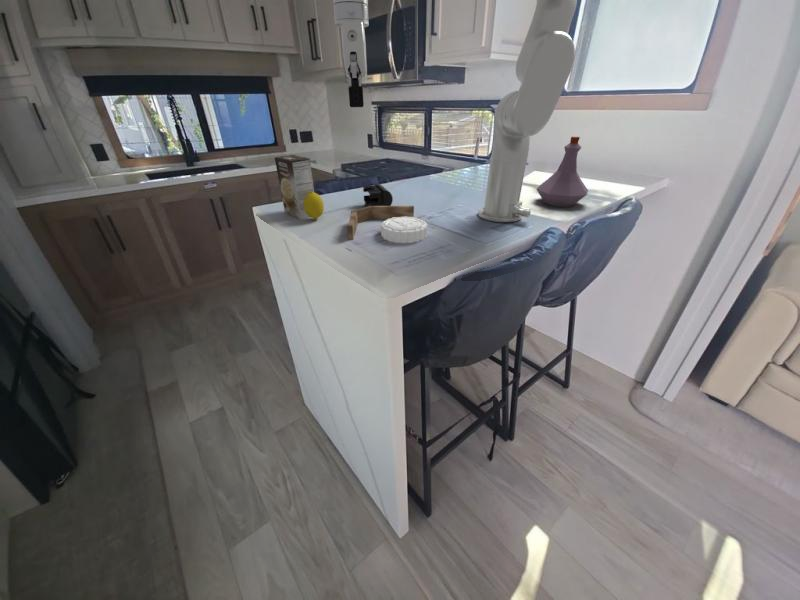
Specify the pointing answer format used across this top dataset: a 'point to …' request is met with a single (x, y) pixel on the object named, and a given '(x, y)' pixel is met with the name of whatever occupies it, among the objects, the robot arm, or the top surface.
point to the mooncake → (404, 229)
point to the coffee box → (294, 183)
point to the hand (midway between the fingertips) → (357, 106)
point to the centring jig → (376, 215)
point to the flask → (564, 180)
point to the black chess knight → (377, 196)
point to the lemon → (313, 205)
